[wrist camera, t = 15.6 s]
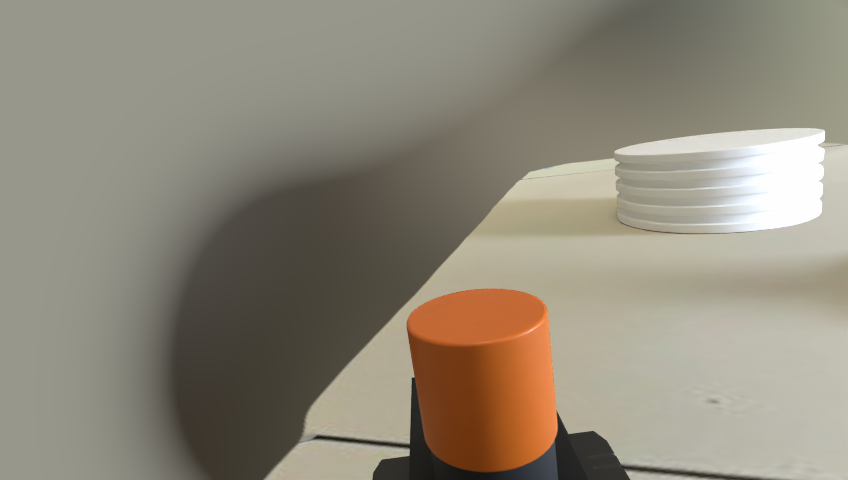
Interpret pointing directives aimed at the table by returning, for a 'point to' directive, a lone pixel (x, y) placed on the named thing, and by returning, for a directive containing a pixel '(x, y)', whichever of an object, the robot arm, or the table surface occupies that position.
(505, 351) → the marker
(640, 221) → the plate stack
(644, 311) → the table surface
